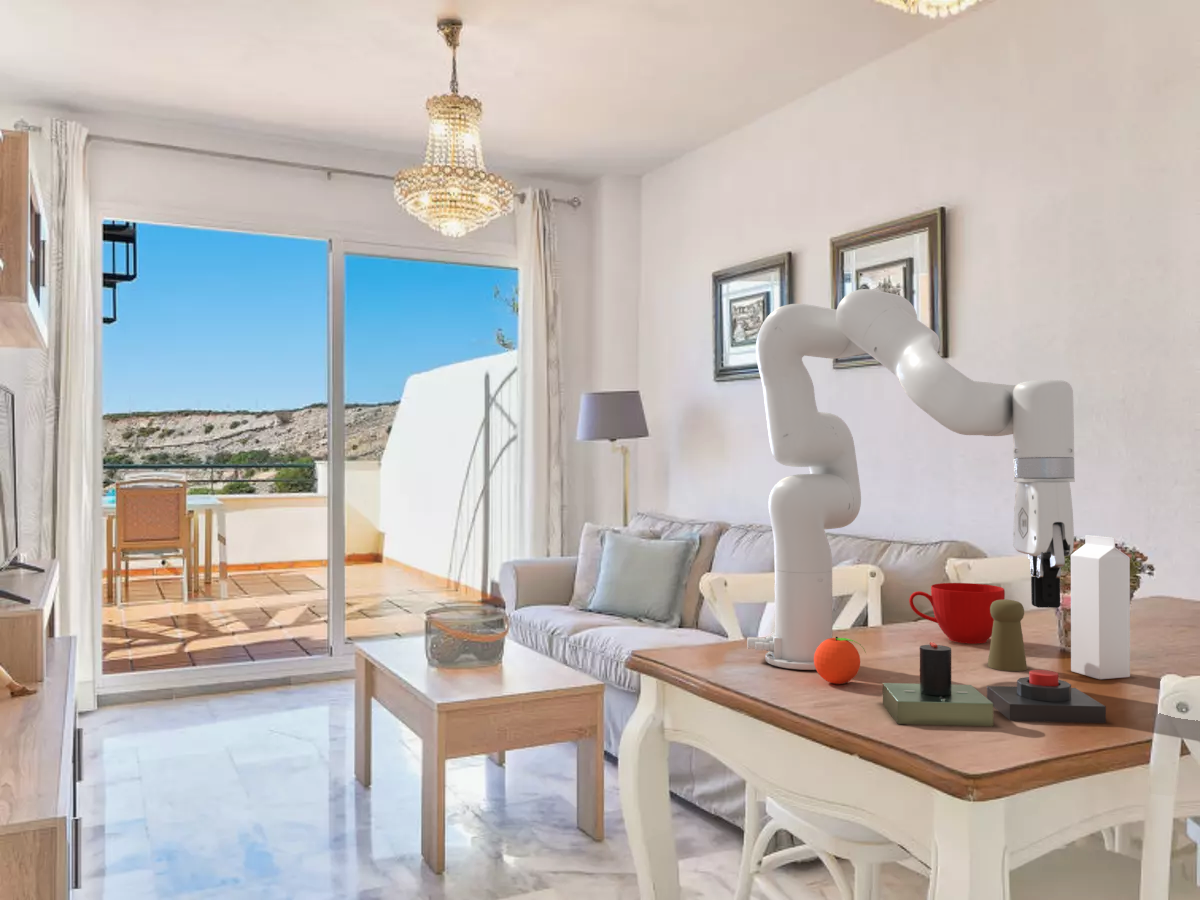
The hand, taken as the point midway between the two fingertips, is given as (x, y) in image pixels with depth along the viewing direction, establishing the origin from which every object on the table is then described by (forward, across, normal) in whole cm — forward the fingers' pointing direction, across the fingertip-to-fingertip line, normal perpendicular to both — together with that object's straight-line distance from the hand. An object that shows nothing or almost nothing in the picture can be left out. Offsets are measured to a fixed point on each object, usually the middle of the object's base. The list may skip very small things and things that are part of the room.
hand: (1045, 606), depth 129 cm
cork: (+14, -28, +4) cm, 32 cm away
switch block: (+14, 0, 0) cm, 14 cm away
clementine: (+14, -14, -25) cm, 32 cm away
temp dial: (+11, +3, -15) cm, 19 cm away
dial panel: (+14, +3, -15) cm, 21 cm away
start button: (+11, 0, 0) cm, 11 cm away
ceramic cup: (+14, -51, +2) cm, 53 cm away
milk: (+14, -24, +17) cm, 33 cm away
